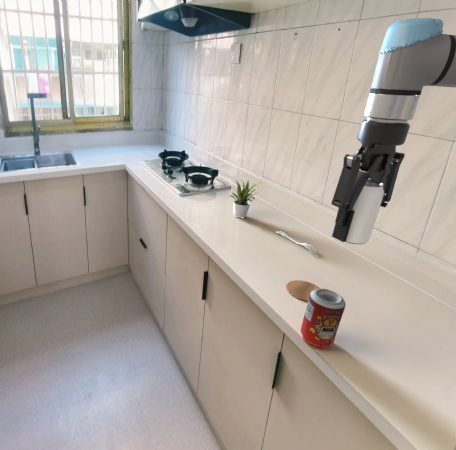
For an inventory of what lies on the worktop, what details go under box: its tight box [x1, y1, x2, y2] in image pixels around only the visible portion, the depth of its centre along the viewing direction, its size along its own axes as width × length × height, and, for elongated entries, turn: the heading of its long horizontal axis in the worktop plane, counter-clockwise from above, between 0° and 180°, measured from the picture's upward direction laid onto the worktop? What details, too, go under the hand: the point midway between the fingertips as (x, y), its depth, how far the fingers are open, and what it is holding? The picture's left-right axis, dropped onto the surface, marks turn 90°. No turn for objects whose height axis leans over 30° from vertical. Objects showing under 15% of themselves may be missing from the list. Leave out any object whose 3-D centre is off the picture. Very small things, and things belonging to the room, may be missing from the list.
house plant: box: [227, 178, 262, 218], centre depth 141 cm, size 14×14×16 cm
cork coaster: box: [285, 279, 322, 303], centre depth 95 cm, size 10×10×1 cm
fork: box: [275, 230, 320, 258], centre depth 122 cm, size 3×21×3 cm, turn 20°
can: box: [345, 178, 384, 245], centre depth 67 cm, size 6×6×12 cm
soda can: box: [300, 288, 347, 350], centre depth 74 cm, size 7×7×12 cm
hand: (351, 236), depth 69 cm, fingers closed on can, 6 cm apart
